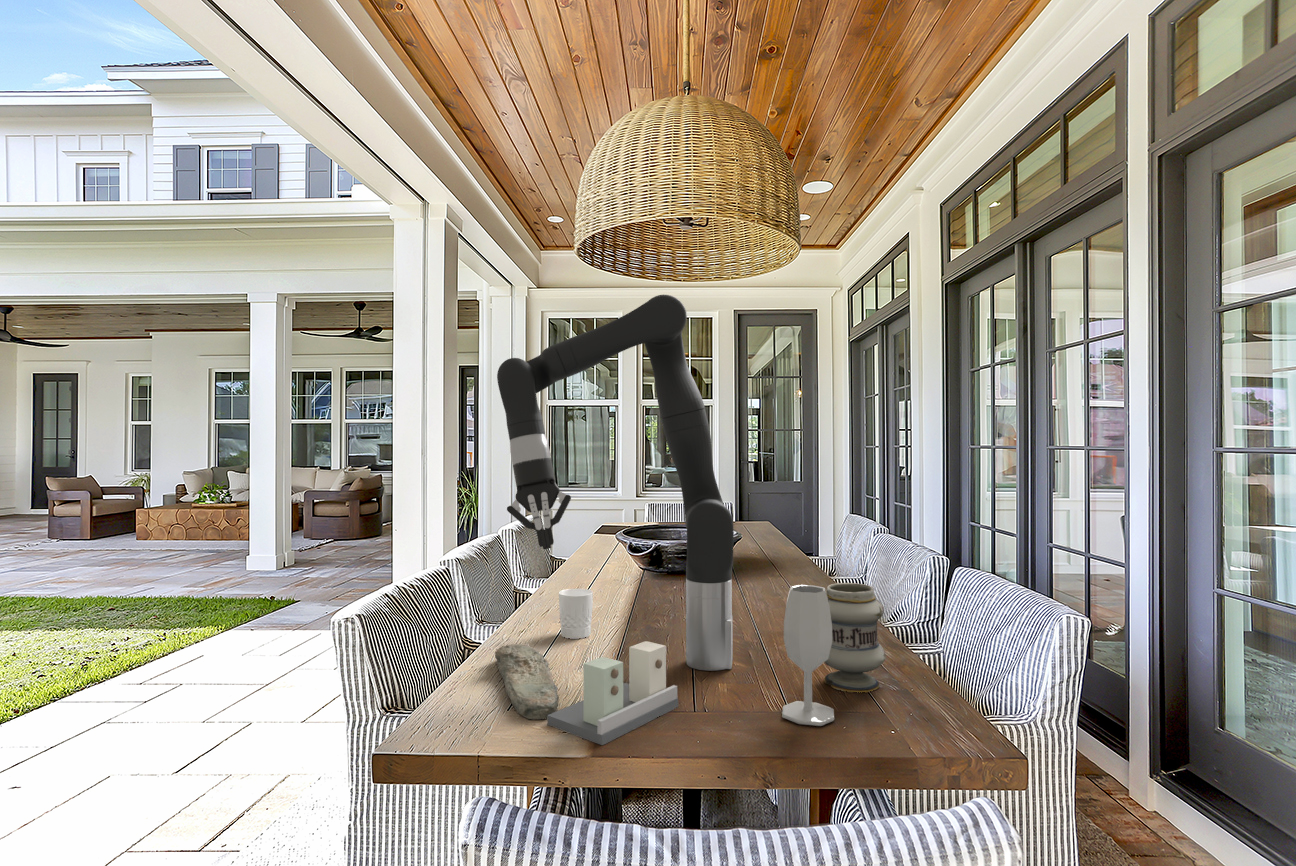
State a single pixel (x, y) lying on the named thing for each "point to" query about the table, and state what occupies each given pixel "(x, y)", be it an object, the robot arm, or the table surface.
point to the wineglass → (808, 648)
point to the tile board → (614, 716)
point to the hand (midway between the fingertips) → (547, 548)
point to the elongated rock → (527, 681)
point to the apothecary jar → (854, 637)
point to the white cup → (575, 612)
